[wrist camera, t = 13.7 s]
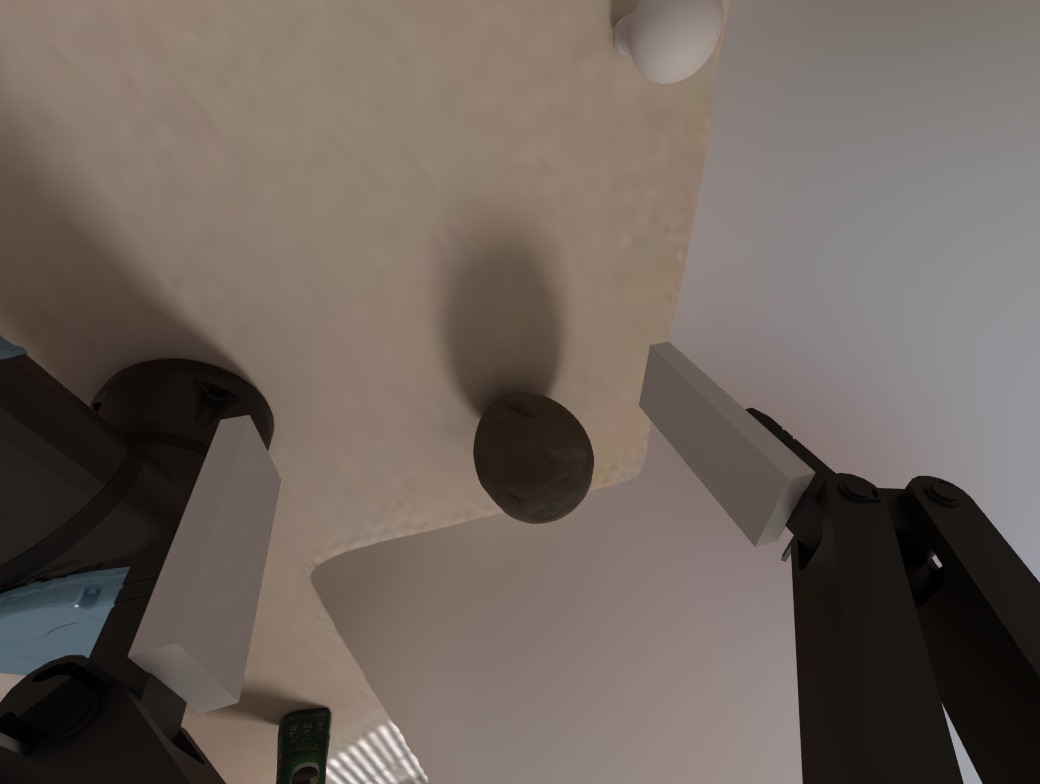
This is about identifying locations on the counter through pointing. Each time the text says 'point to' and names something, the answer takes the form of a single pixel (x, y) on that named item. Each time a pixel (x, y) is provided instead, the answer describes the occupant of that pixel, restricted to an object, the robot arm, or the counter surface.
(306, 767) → the coffee jar
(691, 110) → the counter surface
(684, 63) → the lightbulb
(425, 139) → the counter surface
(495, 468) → the coconut
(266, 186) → the counter surface
